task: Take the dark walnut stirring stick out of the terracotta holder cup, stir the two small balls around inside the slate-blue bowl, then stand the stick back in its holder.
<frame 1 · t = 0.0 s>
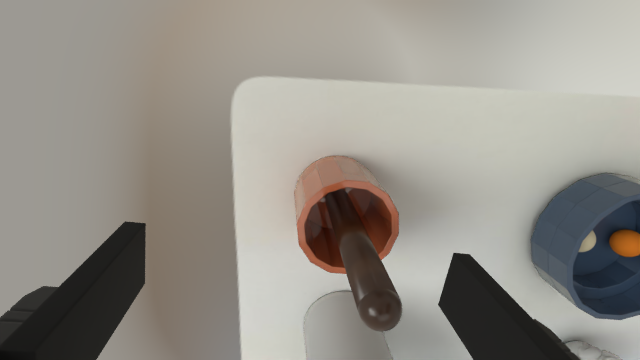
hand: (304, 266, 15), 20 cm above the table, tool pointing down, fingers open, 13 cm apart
bowl: (587, 231, 40), on the table
ball a: (626, 243, 39), point 2 cm above the table, touching bowl
mug: (340, 332, 42), on the table
ball b: (578, 237, 38), point 2 cm above the table, touching bowl
frog figurine: (567, 346, 46), on the table
stick: (335, 196, 36), resting on holder
holder: (335, 194, 36), on the table
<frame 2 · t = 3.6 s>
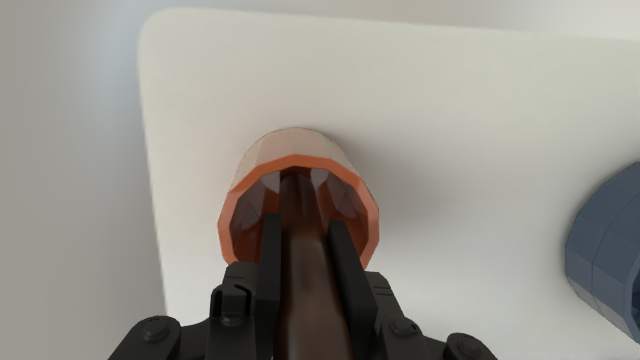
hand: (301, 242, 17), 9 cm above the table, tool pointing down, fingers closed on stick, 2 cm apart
bowl: (639, 235, 30), on the table
stick: (296, 185, 25), point 1 cm above the table, touching gripper
holder: (295, 183, 26), on the table
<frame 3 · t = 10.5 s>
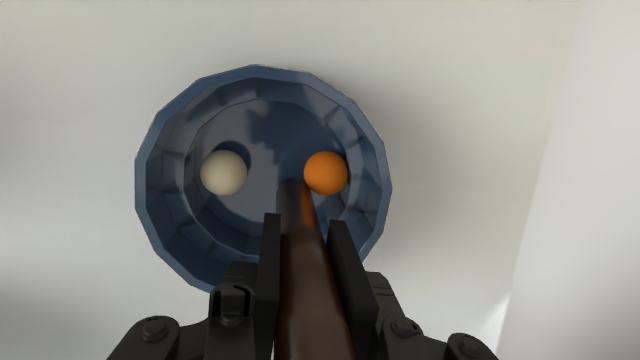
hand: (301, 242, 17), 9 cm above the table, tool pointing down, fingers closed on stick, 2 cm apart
bowl: (271, 169, 26), on the table
ball a: (325, 173, 24), point 2 cm above the table, tilted 37°, touching bowl, stick
ball b: (224, 172, 23), point 2 cm above the table, touching bowl
stick: (293, 189, 25), point 1 cm above the table, touching ball a, gripper
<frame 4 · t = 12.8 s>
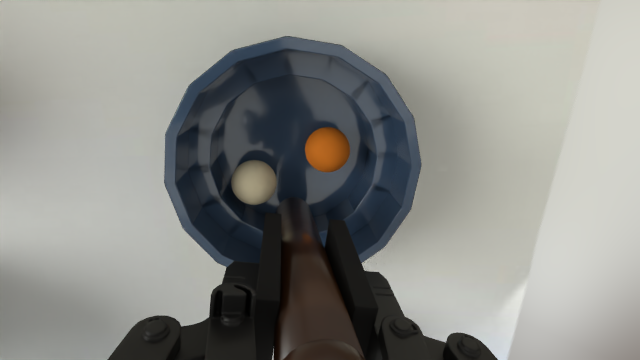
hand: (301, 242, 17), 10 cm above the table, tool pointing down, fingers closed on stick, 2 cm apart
bowl: (293, 150, 26), on the table
ball a: (327, 149, 24), point 2 cm above the table, tilted 30°, touching bowl
ball b: (254, 182, 24), point 2 cm above the table, tilted 22°, touching bowl
stick: (292, 210, 26), point 1 cm above the table, tilted 8°, touching gripper
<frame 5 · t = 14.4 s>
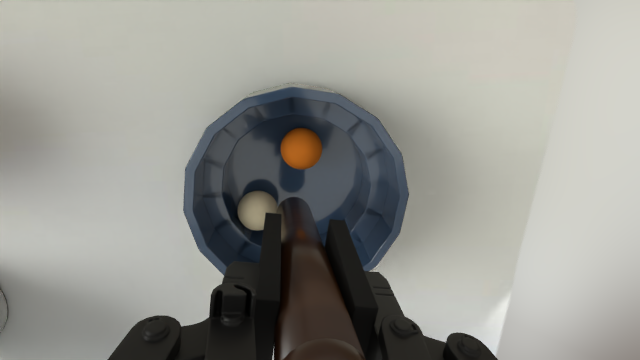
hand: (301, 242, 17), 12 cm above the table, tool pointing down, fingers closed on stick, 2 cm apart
bowl: (296, 175, 28), on the table
ball a: (301, 148, 26), point 2 cm above the table, tilted 133°, touching bowl
ball b: (257, 210, 27), point 2 cm above the table, tilted 14°, touching bowl
stick: (292, 209, 26), point 3 cm above the table, tilted 8°, touching gripper
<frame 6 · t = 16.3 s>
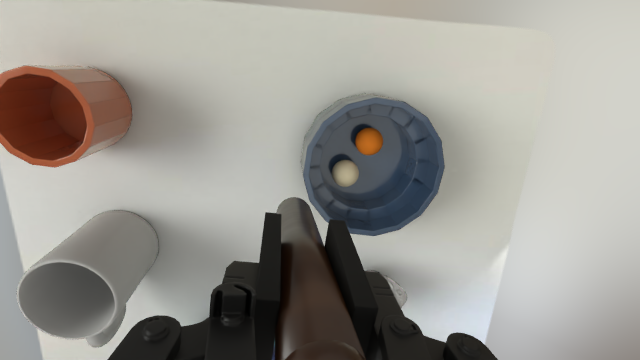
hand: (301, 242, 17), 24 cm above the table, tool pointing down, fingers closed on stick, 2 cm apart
bowl: (362, 156, 41), on the table
ball a: (369, 141, 39), point 2 cm above the table, tilted 129°, touching bowl
mug: (125, 255, 42), on the table
ball b: (345, 173, 40), point 2 cm above the table, tilted 43°, touching bowl
frog figurine: (367, 278, 47), on the table
stick: (293, 210, 26), point 16 cm above the table, tilted 8°, touching gripper
holder: (90, 108, 37), on the table
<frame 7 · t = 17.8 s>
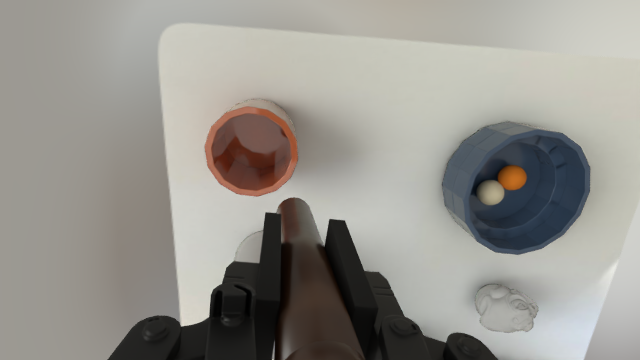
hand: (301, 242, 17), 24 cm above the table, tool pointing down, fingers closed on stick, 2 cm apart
bowl: (496, 179, 44), on the table
ball a: (511, 177, 42), point 2 cm above the table, tilted 80°, touching bowl
mug: (270, 271, 45), on the table
ball b: (490, 192, 42), point 2 cm above the table, tilted 64°, touching bowl
frog figurine: (486, 290, 49), on the table
stick: (293, 210, 26), point 16 cm above the table, tilted 8°, touching gripper
holder: (258, 136, 40), on the table
when the fingers open (9 cm above the table, at t = 22.6 s): stick stays where it is and tips over, resting on holder.
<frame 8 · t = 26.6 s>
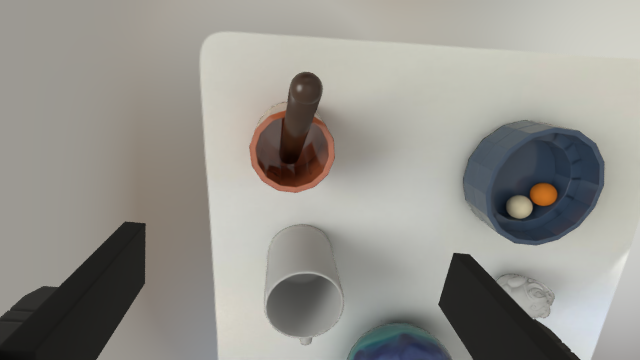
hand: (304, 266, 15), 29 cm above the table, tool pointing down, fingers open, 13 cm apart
bowl: (513, 174, 47), on the table
vase: (387, 347, 54), on the table
ball a: (543, 194, 46), point 2 cm above the table, tilted 67°, touching bowl
mug: (300, 263, 48), on the table
ball b: (519, 206, 46), point 2 cm above the table, tilted 89°, touching bowl
frog figurine: (503, 281, 52), on the table
stick: (288, 157, 42), point 1 cm above the table, tilted 31°, touching holder
holder: (291, 136, 42), on the table
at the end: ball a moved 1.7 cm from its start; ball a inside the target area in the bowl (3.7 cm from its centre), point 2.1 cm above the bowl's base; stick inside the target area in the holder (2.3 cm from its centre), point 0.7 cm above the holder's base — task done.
